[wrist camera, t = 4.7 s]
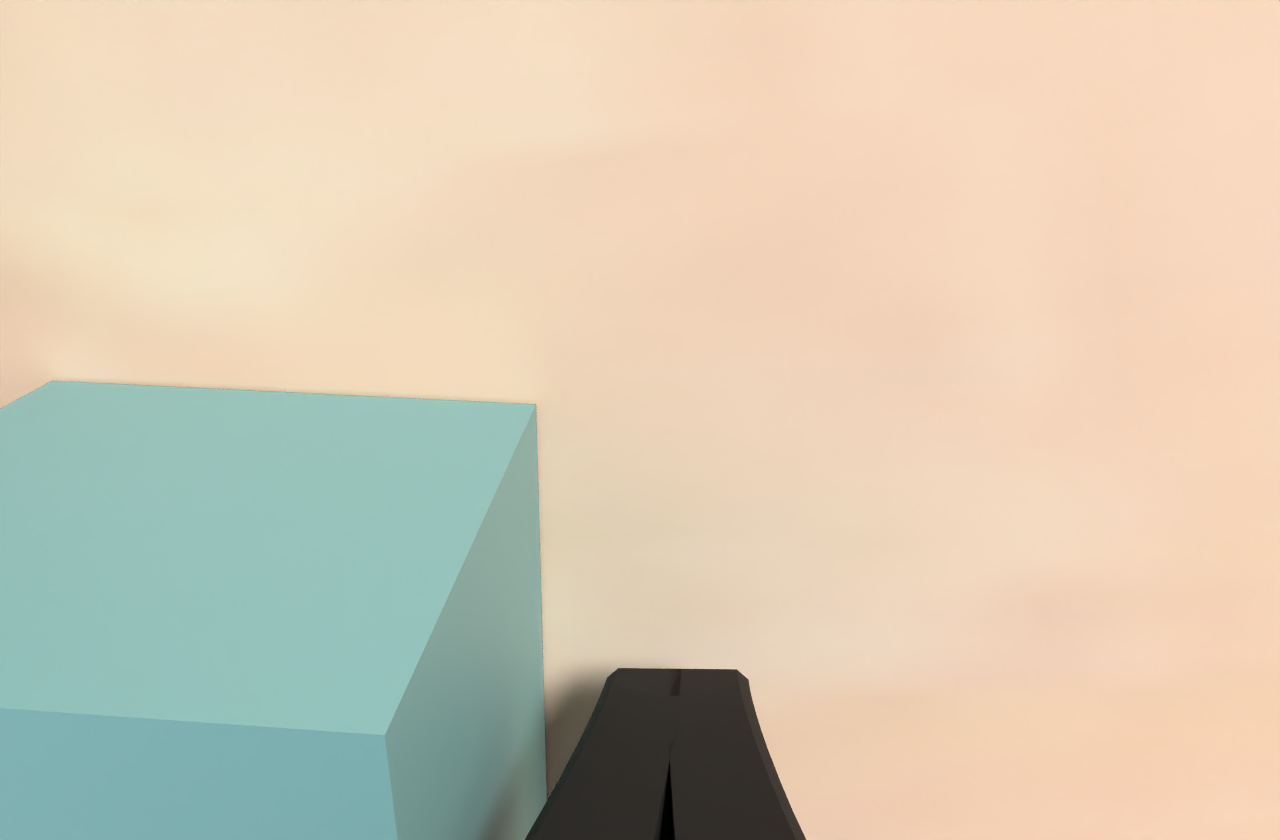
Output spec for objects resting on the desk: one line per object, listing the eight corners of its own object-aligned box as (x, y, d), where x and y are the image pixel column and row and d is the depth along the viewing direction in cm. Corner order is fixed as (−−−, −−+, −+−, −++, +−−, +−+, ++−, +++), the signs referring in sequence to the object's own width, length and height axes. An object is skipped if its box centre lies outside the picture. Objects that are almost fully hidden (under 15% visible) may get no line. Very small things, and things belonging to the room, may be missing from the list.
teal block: (547, 839, 11) (456, 1307, 7) (166, 810, 12) (-134, 1244, 7) (536, 404, 9) (384, 735, 5) (51, 380, 9) (-491, 673, 5)
